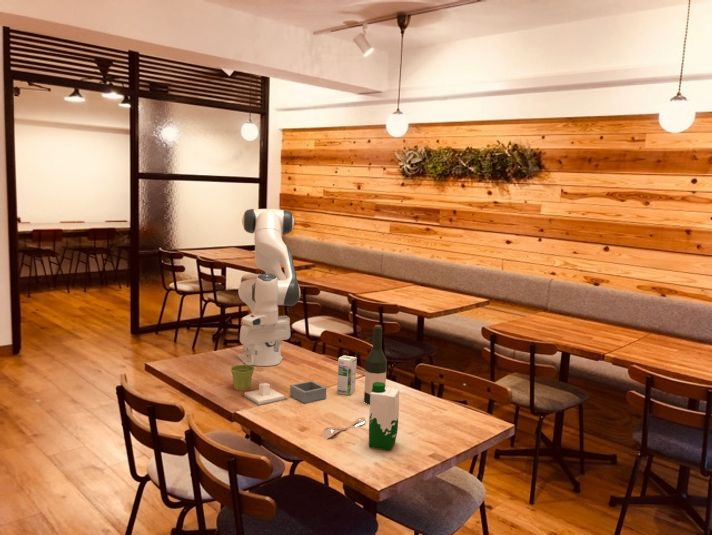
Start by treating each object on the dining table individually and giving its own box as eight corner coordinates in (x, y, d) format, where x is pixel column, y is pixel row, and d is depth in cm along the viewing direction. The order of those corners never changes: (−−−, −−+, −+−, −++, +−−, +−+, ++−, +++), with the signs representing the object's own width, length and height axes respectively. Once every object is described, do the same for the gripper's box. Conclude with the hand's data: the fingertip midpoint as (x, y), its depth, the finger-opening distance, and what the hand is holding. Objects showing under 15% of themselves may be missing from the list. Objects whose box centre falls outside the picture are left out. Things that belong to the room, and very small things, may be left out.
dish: (289, 397, 233) (290, 385, 232) (311, 392, 239) (311, 380, 238) (304, 405, 225) (304, 392, 224) (326, 400, 231) (326, 387, 230)
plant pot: (246, 394, 234) (247, 373, 232) (225, 391, 237) (225, 369, 235) (258, 387, 242) (258, 366, 241) (237, 384, 245) (237, 363, 244)
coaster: (240, 396, 231) (240, 395, 231) (270, 390, 239) (270, 389, 239) (257, 407, 221) (257, 405, 221) (287, 400, 229) (287, 399, 229)
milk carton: (372, 437, 199) (375, 379, 196) (398, 441, 197) (402, 382, 194) (365, 448, 191) (368, 387, 188) (393, 452, 188) (396, 391, 186)
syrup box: (336, 393, 239) (337, 358, 237) (342, 389, 245) (344, 354, 243) (349, 396, 237) (350, 360, 235) (355, 391, 242) (357, 356, 240)
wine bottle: (370, 396, 238) (373, 322, 234) (388, 400, 233) (392, 325, 229) (359, 402, 231) (363, 325, 226) (378, 407, 226) (382, 329, 222)
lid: (244, 395, 231) (244, 382, 230) (269, 390, 238) (269, 377, 237) (258, 404, 222) (259, 390, 222) (284, 398, 229) (284, 385, 228)
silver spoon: (359, 410, 213) (369, 414, 210) (359, 419, 213) (369, 423, 210) (318, 429, 198) (328, 433, 195) (318, 439, 199) (329, 443, 196)
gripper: (285, 313, 235) (284, 347, 236) (237, 318, 222) (237, 355, 224) (294, 316, 230) (293, 351, 231) (246, 322, 217) (245, 359, 219)
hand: (265, 353), depth 227 cm, fingers open, 8 cm apart
